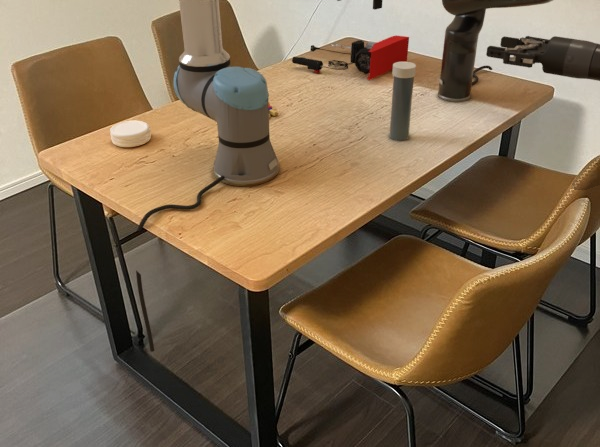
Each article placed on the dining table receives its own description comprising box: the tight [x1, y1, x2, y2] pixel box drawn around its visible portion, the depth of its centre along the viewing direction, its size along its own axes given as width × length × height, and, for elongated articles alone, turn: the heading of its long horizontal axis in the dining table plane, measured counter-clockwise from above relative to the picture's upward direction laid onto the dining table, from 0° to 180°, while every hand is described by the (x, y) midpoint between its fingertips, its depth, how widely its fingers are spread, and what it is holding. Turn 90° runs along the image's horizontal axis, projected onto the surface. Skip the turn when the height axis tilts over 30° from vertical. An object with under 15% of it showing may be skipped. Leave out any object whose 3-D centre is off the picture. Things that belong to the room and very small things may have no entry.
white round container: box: [109, 119, 152, 148], centre depth 160 cm, size 10×10×4 cm
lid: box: [391, 61, 417, 78], centre depth 152 cm, size 6×6×2 cm
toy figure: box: [268, 101, 278, 119], centre depth 176 cm, size 2×7×12 cm
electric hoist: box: [291, 35, 410, 81], centre depth 208 cm, size 10×27×30 cm
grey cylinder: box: [389, 76, 415, 141], centre depth 156 cm, size 5×5×18 cm
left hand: (358, 4), depth 166 cm, fingers open, 13 cm apart
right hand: (494, 46), depth 136 cm, fingers open, 8 cm apart
